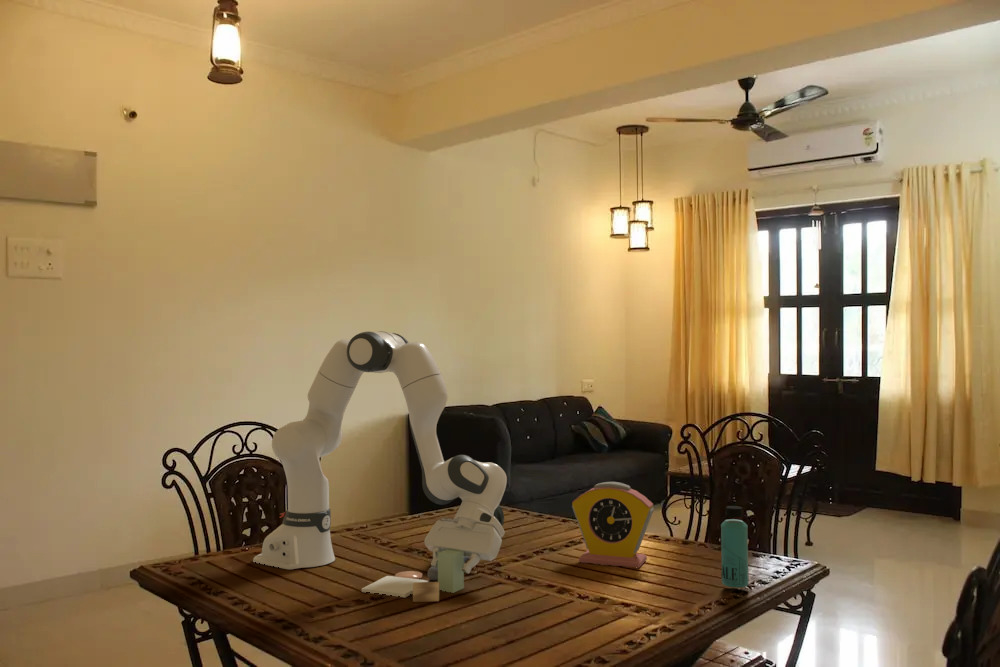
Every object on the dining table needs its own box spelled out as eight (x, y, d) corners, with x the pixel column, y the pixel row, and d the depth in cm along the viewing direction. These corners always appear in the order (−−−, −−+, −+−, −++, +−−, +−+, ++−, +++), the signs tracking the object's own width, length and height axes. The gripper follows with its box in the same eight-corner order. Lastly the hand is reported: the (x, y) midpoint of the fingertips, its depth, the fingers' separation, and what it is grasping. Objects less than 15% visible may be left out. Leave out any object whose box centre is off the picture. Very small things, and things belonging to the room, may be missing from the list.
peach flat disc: (389, 580, 208) (389, 576, 208) (403, 573, 215) (403, 570, 215) (414, 582, 206) (414, 579, 206) (427, 575, 212) (427, 572, 212)
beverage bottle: (749, 587, 198) (748, 504, 199) (748, 595, 192) (747, 509, 192) (722, 585, 201) (721, 503, 201) (720, 592, 194) (719, 508, 195)
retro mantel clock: (569, 562, 223) (568, 483, 224) (578, 554, 232) (578, 477, 232) (649, 569, 215) (648, 487, 215) (656, 561, 223) (655, 482, 224)
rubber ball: (425, 581, 205) (424, 567, 205) (431, 578, 209) (431, 563, 209) (437, 583, 204) (437, 568, 204) (444, 579, 207) (444, 565, 207)
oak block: (412, 602, 189) (412, 587, 189) (413, 597, 193) (413, 582, 193) (438, 601, 190) (438, 586, 190) (439, 596, 194) (439, 581, 194)
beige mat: (361, 591, 197) (361, 588, 197) (387, 578, 208) (387, 575, 208) (405, 597, 192) (405, 594, 192) (429, 583, 203) (429, 580, 203)
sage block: (437, 590, 198) (437, 552, 198) (448, 585, 202) (448, 548, 202) (453, 593, 196) (452, 555, 196) (463, 588, 200) (463, 551, 200)
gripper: (433, 509, 211) (410, 556, 202) (500, 518, 200) (478, 567, 191) (444, 524, 214) (421, 570, 206) (510, 533, 203) (489, 582, 195)
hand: (449, 569), depth 198 cm, fingers open, 8 cm apart
